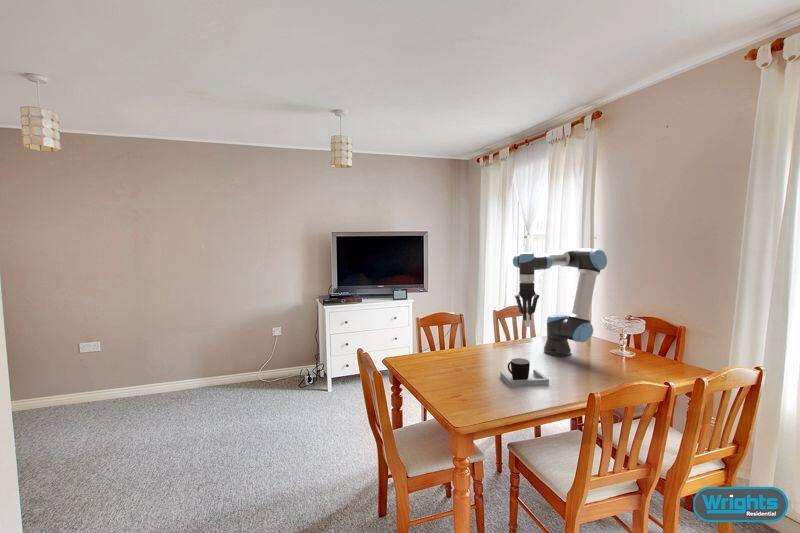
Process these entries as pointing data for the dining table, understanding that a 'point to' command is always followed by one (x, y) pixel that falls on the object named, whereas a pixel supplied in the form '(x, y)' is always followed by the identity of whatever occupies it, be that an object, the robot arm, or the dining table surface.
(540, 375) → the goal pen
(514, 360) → the mug
